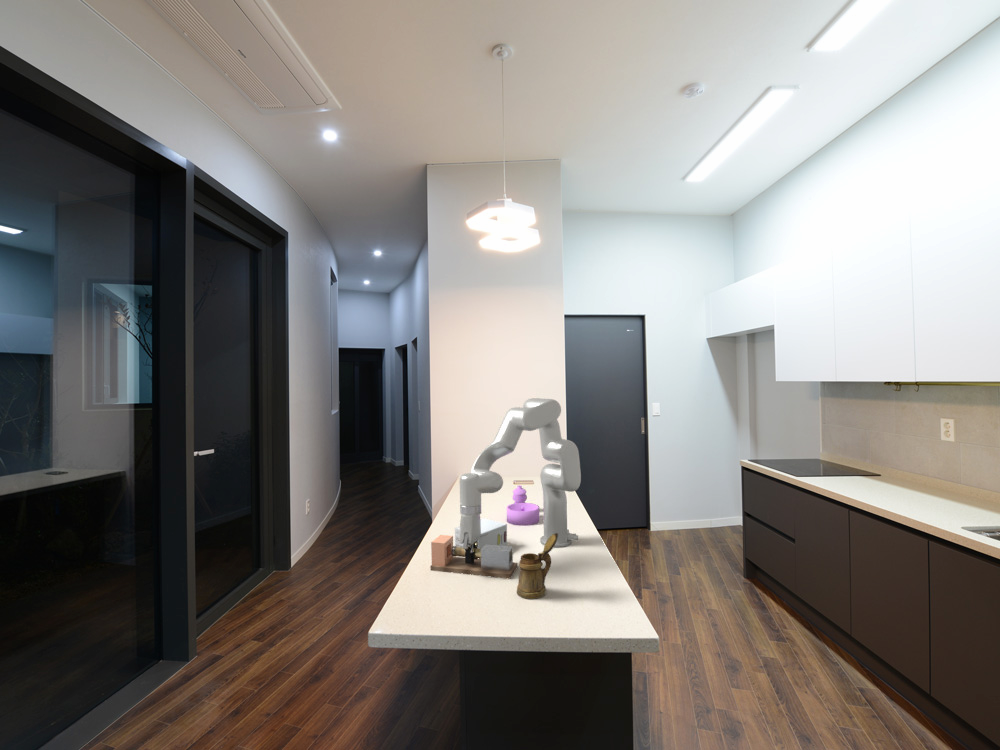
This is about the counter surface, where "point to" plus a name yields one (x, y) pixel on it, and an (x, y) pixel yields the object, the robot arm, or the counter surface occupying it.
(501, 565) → the sleeve
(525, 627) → the counter surface
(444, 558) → the socket block
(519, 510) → the container set
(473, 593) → the counter surface
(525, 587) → the wooden mug
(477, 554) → the tube
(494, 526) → the supplement box
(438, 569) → the base board
